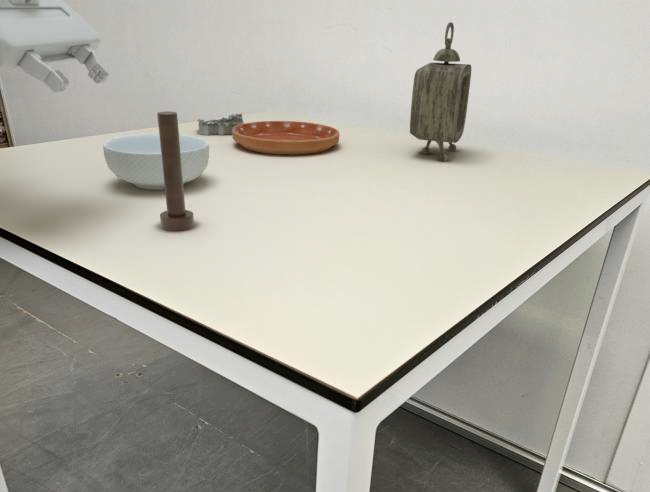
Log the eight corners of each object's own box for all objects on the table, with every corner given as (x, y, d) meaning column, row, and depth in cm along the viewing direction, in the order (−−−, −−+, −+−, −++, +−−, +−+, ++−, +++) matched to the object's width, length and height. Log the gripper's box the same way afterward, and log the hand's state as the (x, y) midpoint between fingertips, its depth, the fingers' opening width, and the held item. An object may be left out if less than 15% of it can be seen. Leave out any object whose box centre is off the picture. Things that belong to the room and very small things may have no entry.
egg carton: (244, 131, 146) (244, 113, 144) (243, 137, 139) (243, 118, 137) (199, 130, 145) (198, 112, 143) (196, 136, 138) (195, 117, 136)
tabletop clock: (450, 165, 119) (467, 23, 107) (405, 160, 121) (417, 22, 110) (461, 151, 131) (477, 22, 119) (420, 147, 133) (432, 21, 122)
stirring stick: (169, 235, 79) (157, 116, 72) (156, 226, 82) (143, 111, 75) (200, 229, 82) (191, 114, 75) (185, 221, 85) (176, 109, 78)
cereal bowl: (205, 199, 94) (202, 153, 91) (97, 199, 93) (89, 152, 90) (215, 172, 109) (213, 132, 106) (122, 172, 108) (116, 131, 105)
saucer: (326, 135, 143) (326, 119, 141) (350, 157, 123) (351, 138, 121) (228, 137, 138) (228, 120, 136) (237, 160, 118) (236, 140, 117)
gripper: (36, 13, 83) (112, 91, 86) (-80, 15, 65) (22, 113, 68) (59, -24, 80) (137, 58, 83) (-55, -33, 62) (49, 72, 65)
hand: (84, 83), depth 75 cm, fingers open, 8 cm apart
